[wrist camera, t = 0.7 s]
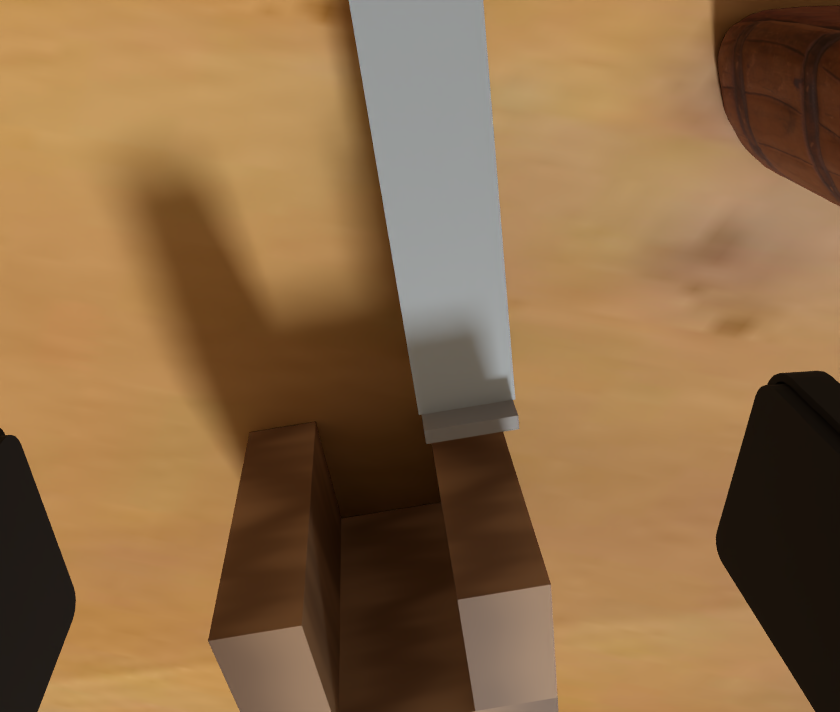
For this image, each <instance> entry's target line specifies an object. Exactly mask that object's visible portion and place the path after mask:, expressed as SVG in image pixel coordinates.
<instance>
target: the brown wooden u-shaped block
mask: <svg viewBox="0 0 840 712" xmlns="http://www.w3.org/2000/svg"><path fill="white" fill-rule="evenodd" d="M432 450H433V456H434V462H435V468H436V474H437V480H438V487H439V493H440V499H441V502H440V503H434V504H428V505H422V506H416V507H410V508H404V509H398V510H391V511H385V512H379V513H373V514H367V515H361V516H355V517H349V518H343V519H341V516H340V512H339V508H338V505H337V501H336V497H335V493H334V490H333V486H332V482H331V478H330V474H329V471H328V467H327V463H326V459H325V456H324V452H323V448H322V444H321V440H320V437H319V433H318V429H317V425H316V422H311V423H305V424H299V425H293V426H286V427H280V428H274V429H268V430H262V431H256V432H250V434H249V439H248V444H247V449H246V454H245V459H244V464H243V469H242V474H241V479H240V484H239V489H238V494H237V499H236V504H235V509H234V514H233V519H232V524H231V529H230V534H229V539H228V544H227V549H226V554H225V559H224V564H223V569H222V574H221V579H220V584H219V589H218V594H217V599H216V604H215V609H214V614H213V619H212V624H211V629H210V634H209V639H208V642H209V644H210V646H211V649H212V651H213V653H214V655H215V657H216V660H217V662H218V664H219V666H220V668H221V671H222V673H223V675H224V677H225V679H226V682H227V684H228V686H229V688H230V690H231V693H232V695H233V697H234V699H235V701H236V704H237V706H238V708H239V710H240V712H558V698H557V681H556V664H555V647H554V630H553V613H552V595H551V583H550V580H549V577H548V574H547V571H546V567H545V564H544V561H543V558H542V555H541V552H540V548H539V545H538V542H537V539H536V536H535V532H534V529H533V526H532V523H531V520H530V517H529V513H528V510H527V507H526V504H525V501H524V497H523V494H522V491H521V488H520V485H519V482H518V478H517V475H516V472H515V469H514V466H513V462H512V459H511V456H510V453H509V450H508V447H507V443H506V440H505V437H504V434H503V432H497V433H491V434H485V435H479V436H473V437H466V438H460V439H454V440H448V441H442V442H436V443H432Z"/></svg>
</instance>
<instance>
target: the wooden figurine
mask: <svg viewBox="0 0 840 712" xmlns="http://www.w3.org/2000/svg"><path fill="white" fill-rule="evenodd" d="M718 68H719V78H720V84H721V90H722V96H723V101H724V110H725V113H726V115H727V118H728V120H729V122H730V124H731V125H732V127H733V129H734V130H735V132H736V134H737V136H738V138H739V140H740V141H741V143H742V144H743V146H744V147H745V148H746V149H747V150H748V151H749V152H750V153H751V154H752V155H753V156H754V157H755V158H756V159H757V160H758V161H760V162H761V163H762V164H763V165H764V166H765V167H767V168H768V169H770V170H772V171H774V172H775V173H777V174H779V175H780V176H783V177H785V178H787V179H789V180H791V181H793V182H795V183H796V184H798V185H800V186H802V187H804V188H806V189H808V190H810V191H812V192H814V193H816V194H817V195H819V196H821V197H823V198H825V199H827V200H828V201H830V202H832V203H834V204H837V205H839V206H840V6H812V7H793V8H784V9H772V10H764V11H761V12H758V13H754V14H752V15H749V16H747V17H746V18H744V19H743V20H741V21H740V22H739V23H736V24H735V25H733V26H732V27H731V28H729V30H728V31H727V33H726V34H725V36H724V39H723V41H722V44H721V47H720V50H719V55H718Z"/></svg>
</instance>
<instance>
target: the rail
mask: <svg viewBox="0 0 840 712" xmlns="http://www.w3.org/2000/svg"><path fill="white" fill-rule="evenodd" d="M349 5H350V11H351V17H352V23H353V29H354V35H355V40H356V46H357V52H358V58H359V64H360V70H361V76H362V82H363V88H364V94H365V100H366V105H367V111H368V117H369V123H370V129H371V135H372V141H373V147H374V153H375V159H376V165H377V170H378V176H379V182H380V188H381V194H382V200H383V206H384V212H385V218H386V224H387V230H388V235H389V241H390V247H391V253H392V259H393V265H394V271H395V277H396V283H397V289H398V295H399V300H400V306H401V312H402V318H403V324H404V330H405V336H406V342H407V348H408V354H409V360H410V365H411V371H412V377H413V383H414V389H415V395H416V401H417V407H418V413H419V415H422V421H423V427H424V433H425V439H426V444H430V443H436V442H442V441H448V440H454V439H460V438H466V437H473V436H479V435H485V434H491V433H497V432H503V431H509V430H515V429H519V420H518V414H517V411H516V408H515V405H514V402H513V400H515V390H514V378H513V366H512V353H511V341H510V328H509V316H508V304H507V291H506V279H505V266H504V254H503V242H502V229H501V217H500V204H499V192H498V180H497V167H496V155H495V142H494V130H493V118H492V105H491V93H490V80H489V68H488V56H487V43H486V31H485V18H484V6H483V0H349Z"/></svg>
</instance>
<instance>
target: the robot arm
mask: <svg viewBox="0 0 840 712" xmlns="http://www.w3.org/2000/svg"><path fill="white" fill-rule="evenodd" d="M716 546H717V551H718V554H719V557H720V559H721V561H722V563H723V565H724V566H725V568H726V570H727V571H728V573H729V574H730V576H731V578H732V579H733V581H734V582H735V584H736V586H737V587H738V589H739V590H740V592H741V594H742V595H743V597H744V598H745V600H746V602H747V603H748V605H749V606H750V608H751V610H752V611H753V613H754V614H755V616H756V618H757V619H758V621H759V622H760V624H761V626H762V627H763V629H764V630H765V632H766V634H767V635H768V637H769V638H770V640H771V642H772V643H773V645H774V646H775V648H776V649H777V651H778V653H779V654H780V656H781V657H782V659H783V661H784V662H785V664H786V665H787V667H788V669H789V670H790V672H791V673H792V675H793V677H794V678H795V680H796V681H797V683H798V685H799V686H800V688H801V689H802V691H803V693H804V694H805V696H806V697H807V699H808V701H809V702H810V704H811V705H812V707H813V709H814V710H815V712H840V383H838V382H837V381H836V380H835V379H834V378H833V377H832V376H830V375H829V374H827V373H825V372H823V371H808V372H792V373H779V374H776V375H774V376H773V377H772V378H771V379H770V380H769V382H768V384H767V385H765V386H762V387H761V388H760V389H759V390H758V392H757V394H756V396H755V400H754V403H753V407H752V410H751V414H750V417H749V421H748V424H747V428H746V432H745V435H744V439H743V442H742V446H741V449H740V453H739V456H738V460H737V463H736V467H735V470H734V474H733V477H732V481H731V484H730V488H729V491H728V495H727V498H726V502H725V505H724V509H723V512H722V516H721V519H720V523H719V526H718V530H717V534H716ZM75 602H76V598H75V591H74V587H73V584H72V581H71V579H70V576H69V573H68V570H67V568H66V565H65V562H64V560H63V557H62V554H61V551H60V549H59V546H58V543H57V541H56V538H55V535H54V532H53V530H52V527H51V524H50V522H49V519H48V516H47V513H46V511H45V508H44V505H43V503H42V500H41V497H40V494H39V492H38V489H37V486H36V484H35V481H34V478H33V475H32V473H31V470H30V467H29V465H28V462H27V459H26V456H25V454H24V451H23V448H22V445H21V443H20V441H19V440H18V439H17V438H16V437H15V436H13V435H5V434H4V432H3V430H2V429H1V428H0V712H38V709H39V707H40V704H41V701H42V699H43V696H44V693H45V691H46V688H47V686H48V683H49V680H50V678H51V675H52V672H53V670H54V667H55V665H56V662H57V659H58V657H59V654H60V652H61V649H62V646H63V644H64V641H65V638H66V636H67V633H68V631H69V628H70V625H71V623H72V620H73V617H74V612H75Z"/></svg>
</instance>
